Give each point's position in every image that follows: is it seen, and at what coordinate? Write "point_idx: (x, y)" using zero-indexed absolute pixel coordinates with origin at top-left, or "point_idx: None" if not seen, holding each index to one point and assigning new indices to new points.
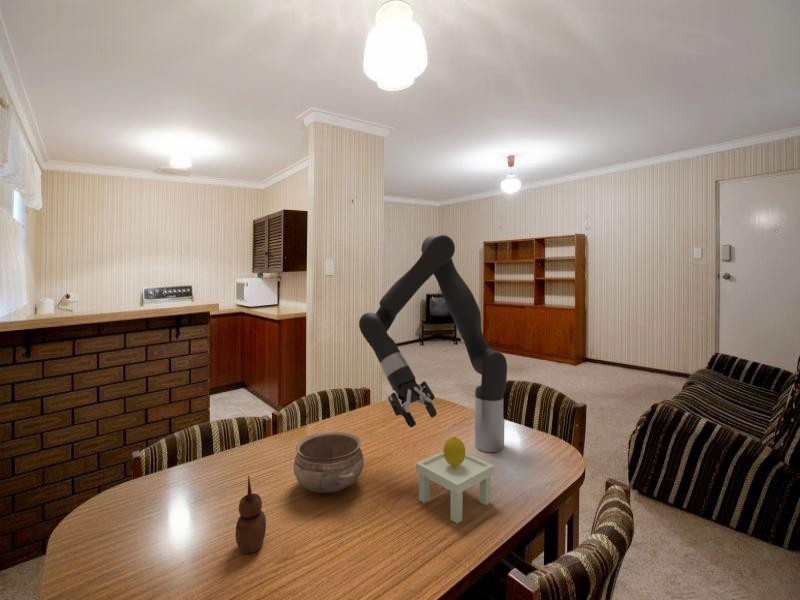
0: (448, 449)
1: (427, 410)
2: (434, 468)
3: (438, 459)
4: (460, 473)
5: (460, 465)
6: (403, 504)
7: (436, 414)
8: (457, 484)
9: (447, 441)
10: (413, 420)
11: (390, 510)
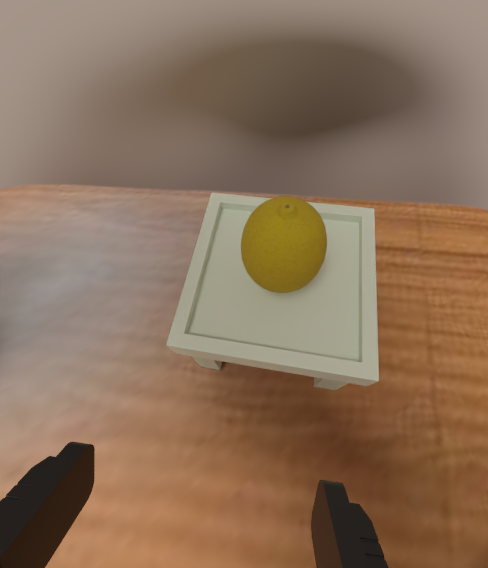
0: (326, 235)
1: (43, 565)
2: (334, 319)
3: (269, 346)
4: None
5: None
6: (383, 411)
7: (75, 442)
8: (372, 209)
9: (312, 237)
10: (339, 510)
11: (432, 422)
